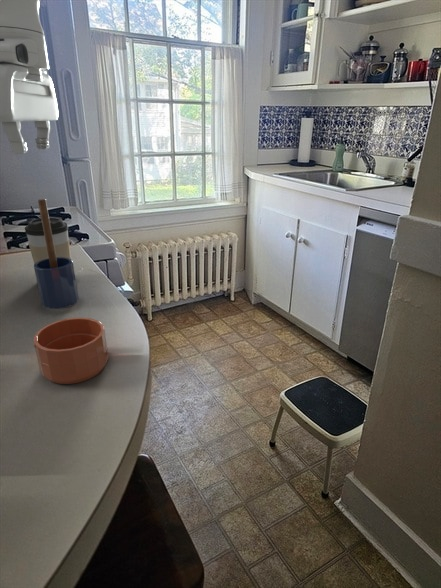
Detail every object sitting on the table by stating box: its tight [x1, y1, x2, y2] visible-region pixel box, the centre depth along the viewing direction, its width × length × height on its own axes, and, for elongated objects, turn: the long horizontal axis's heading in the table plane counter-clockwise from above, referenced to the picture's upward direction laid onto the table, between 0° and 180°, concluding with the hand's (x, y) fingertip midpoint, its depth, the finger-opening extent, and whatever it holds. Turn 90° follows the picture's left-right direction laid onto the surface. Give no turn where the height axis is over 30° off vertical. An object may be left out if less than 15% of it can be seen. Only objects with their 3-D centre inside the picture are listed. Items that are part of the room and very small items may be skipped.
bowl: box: [33, 317, 109, 385], centre depth 60 cm, size 10×10×6 cm
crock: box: [33, 257, 79, 310], centre depth 80 cm, size 7×7×9 cm
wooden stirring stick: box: [37, 198, 58, 268], centre depth 78 cm, size 1×3×21 cm, turn 2°
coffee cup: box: [24, 217, 72, 265], centre depth 90 cm, size 9×9×15 cm
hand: (32, 151), depth 66 cm, fingers open, 8 cm apart
